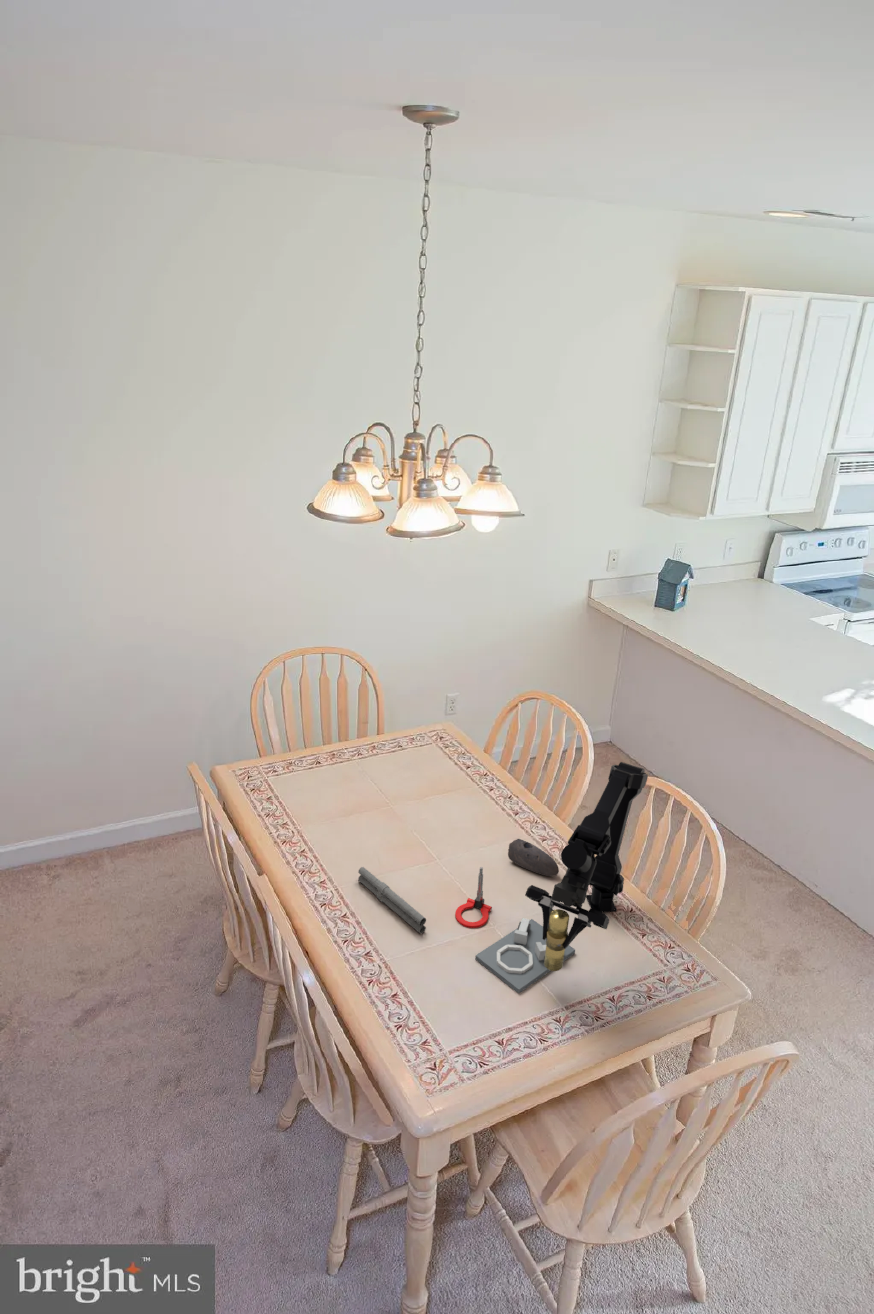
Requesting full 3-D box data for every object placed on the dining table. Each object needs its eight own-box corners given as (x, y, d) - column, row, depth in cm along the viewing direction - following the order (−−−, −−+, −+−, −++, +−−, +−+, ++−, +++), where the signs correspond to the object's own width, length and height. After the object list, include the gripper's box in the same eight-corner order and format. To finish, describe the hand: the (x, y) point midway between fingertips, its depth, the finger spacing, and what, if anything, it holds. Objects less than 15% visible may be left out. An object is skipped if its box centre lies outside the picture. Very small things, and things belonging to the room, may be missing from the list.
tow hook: (479, 934, 217) (495, 911, 224) (481, 893, 211) (497, 871, 218) (449, 922, 220) (465, 899, 227) (450, 882, 214) (467, 860, 222)
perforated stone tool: (562, 876, 238) (564, 855, 236) (552, 885, 234) (555, 864, 232) (515, 854, 246) (517, 833, 244) (505, 862, 242) (507, 842, 240)
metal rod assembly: (426, 931, 216) (427, 915, 214) (418, 936, 214) (418, 920, 212) (364, 878, 233) (364, 863, 231) (355, 882, 232) (356, 867, 230)
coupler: (540, 957, 201) (546, 908, 195) (561, 956, 201) (567, 907, 195) (545, 972, 196) (551, 923, 190) (566, 971, 197) (573, 922, 191)
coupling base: (531, 922, 220) (533, 908, 219) (574, 953, 211) (576, 939, 209) (475, 959, 208) (476, 944, 206) (518, 993, 199) (520, 979, 197)
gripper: (532, 855, 196) (507, 923, 192) (611, 885, 188) (587, 956, 184) (543, 865, 206) (519, 930, 201) (619, 894, 198) (595, 962, 193)
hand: (553, 944), depth 195 cm, fingers closed on coupler, 5 cm apart
